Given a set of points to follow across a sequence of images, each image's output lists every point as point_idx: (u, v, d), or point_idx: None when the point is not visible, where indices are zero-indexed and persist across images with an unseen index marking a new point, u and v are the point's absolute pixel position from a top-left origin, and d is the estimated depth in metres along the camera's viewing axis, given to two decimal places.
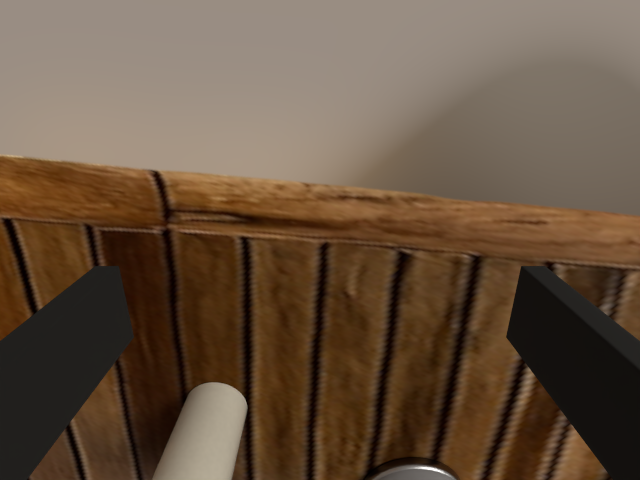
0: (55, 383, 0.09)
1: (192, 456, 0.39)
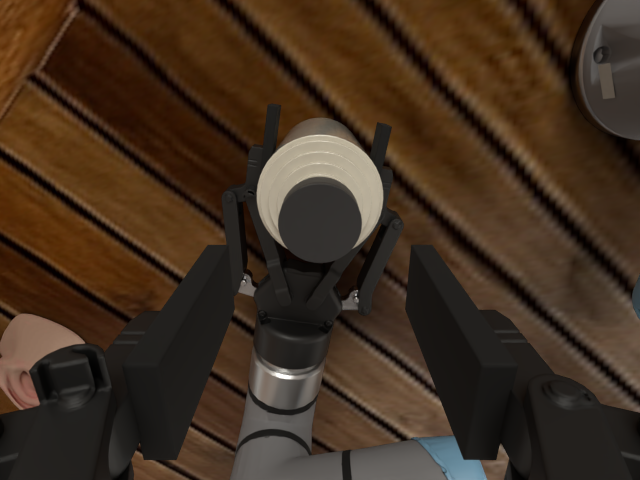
0: (204, 338, 0.11)
1: None
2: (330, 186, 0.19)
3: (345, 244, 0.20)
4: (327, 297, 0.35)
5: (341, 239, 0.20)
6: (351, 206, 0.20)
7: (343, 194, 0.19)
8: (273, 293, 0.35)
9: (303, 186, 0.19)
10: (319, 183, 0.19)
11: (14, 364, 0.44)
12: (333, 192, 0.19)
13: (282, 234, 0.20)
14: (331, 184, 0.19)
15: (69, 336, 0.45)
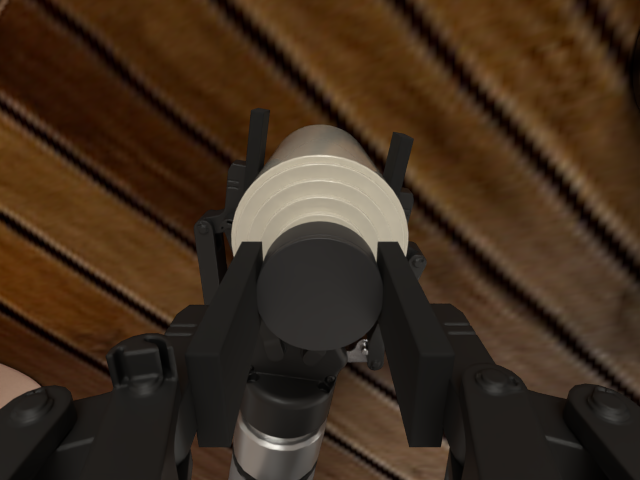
0: (247, 331, 0.11)
1: (268, 162, 0.20)
2: (336, 241, 0.12)
3: (358, 325, 0.13)
4: None
5: (352, 318, 0.13)
6: (368, 271, 0.13)
7: (356, 253, 0.12)
8: (261, 344, 0.28)
9: (294, 241, 0.12)
10: (318, 237, 0.12)
11: None
12: (340, 251, 0.12)
13: (262, 311, 0.13)
14: (337, 238, 0.12)
15: (23, 382, 0.38)
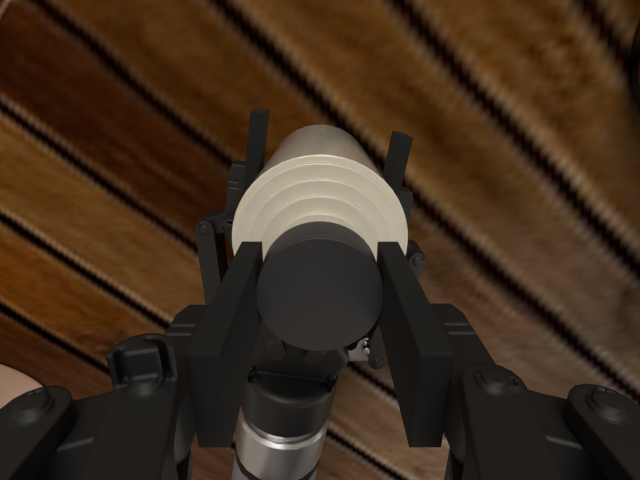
0: (247, 332, 0.11)
1: (268, 162, 0.20)
2: (259, 309, 0.13)
3: (330, 252, 0.12)
4: None
5: (325, 260, 0.13)
6: (270, 272, 0.13)
7: (260, 290, 0.13)
8: (263, 343, 0.28)
9: None
10: (264, 321, 0.14)
11: None
12: (264, 303, 0.13)
13: (357, 336, 0.14)
14: (258, 305, 0.13)
15: (26, 383, 0.38)
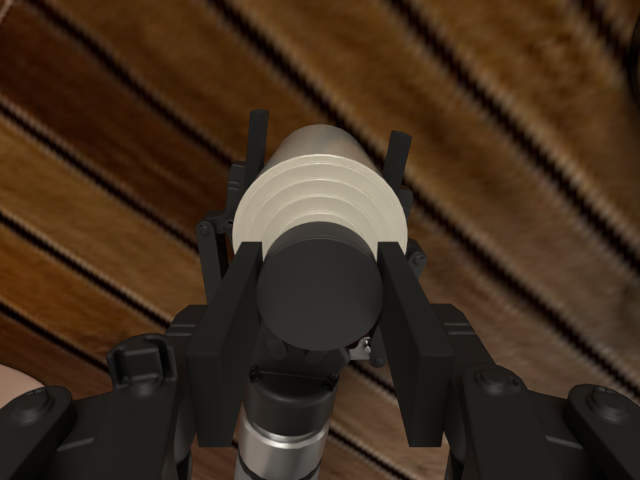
0: (247, 331, 0.11)
1: (268, 162, 0.20)
2: (357, 337, 0.14)
3: (271, 309, 0.13)
4: None
5: (281, 309, 0.13)
6: (316, 344, 0.14)
7: (337, 345, 0.14)
8: (264, 343, 0.28)
9: None
10: (369, 327, 0.14)
11: None
12: (348, 337, 0.14)
13: (343, 246, 0.12)
14: None
15: (29, 384, 0.38)
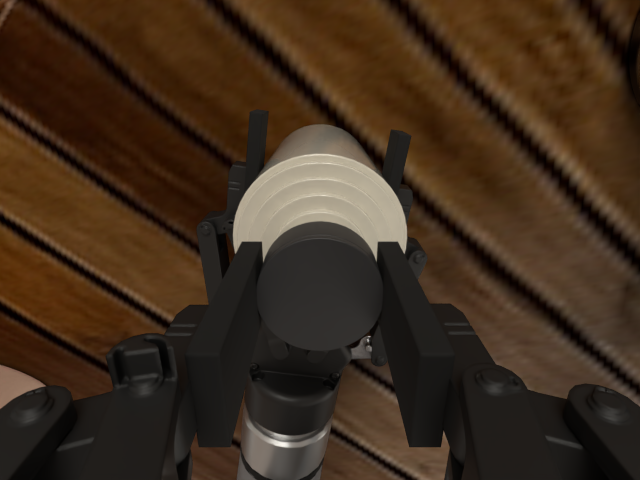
0: (247, 331, 0.11)
1: (268, 162, 0.20)
2: (346, 245, 0.12)
3: (353, 330, 0.14)
4: None
5: (348, 322, 0.13)
6: (372, 278, 0.13)
7: (364, 259, 0.12)
8: (266, 342, 0.29)
9: (304, 238, 0.12)
10: (330, 237, 0.12)
11: None
12: (349, 254, 0.12)
13: (260, 303, 0.13)
14: (347, 241, 0.13)
15: (33, 385, 0.38)
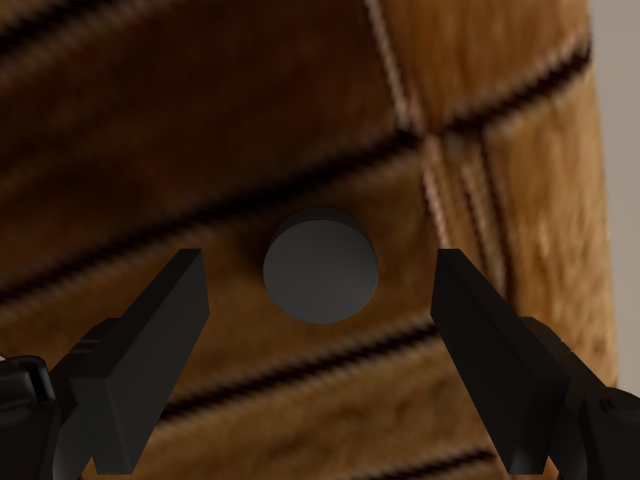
0: (169, 346, 0.11)
1: None
2: (344, 226, 0.14)
3: (350, 304, 0.15)
4: None
5: (346, 297, 0.15)
6: (367, 256, 0.14)
7: (360, 239, 0.14)
8: None
9: (306, 220, 0.14)
10: (329, 219, 0.14)
11: None
12: (346, 235, 0.14)
13: (267, 279, 0.15)
14: (345, 223, 0.14)
15: None
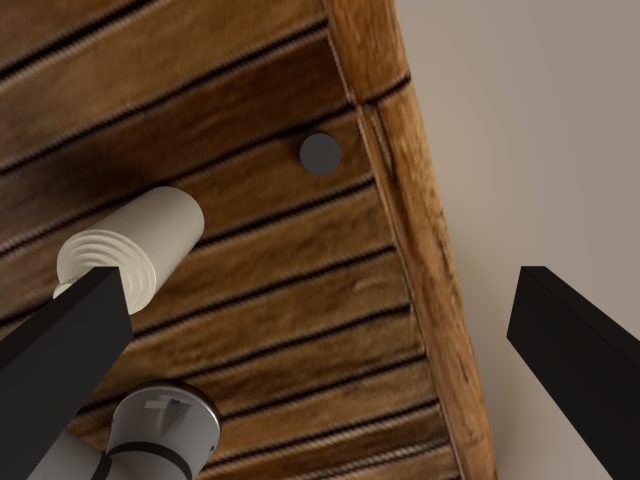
0: (56, 383, 0.09)
1: (168, 245, 0.35)
2: (328, 135, 0.40)
3: (330, 166, 0.42)
4: None
5: (329, 163, 0.41)
6: (336, 147, 0.41)
7: (333, 140, 0.41)
8: None
9: (315, 133, 0.40)
10: (323, 133, 0.40)
11: None
12: (329, 139, 0.40)
13: (301, 156, 0.41)
14: (328, 135, 0.41)
15: None
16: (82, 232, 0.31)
